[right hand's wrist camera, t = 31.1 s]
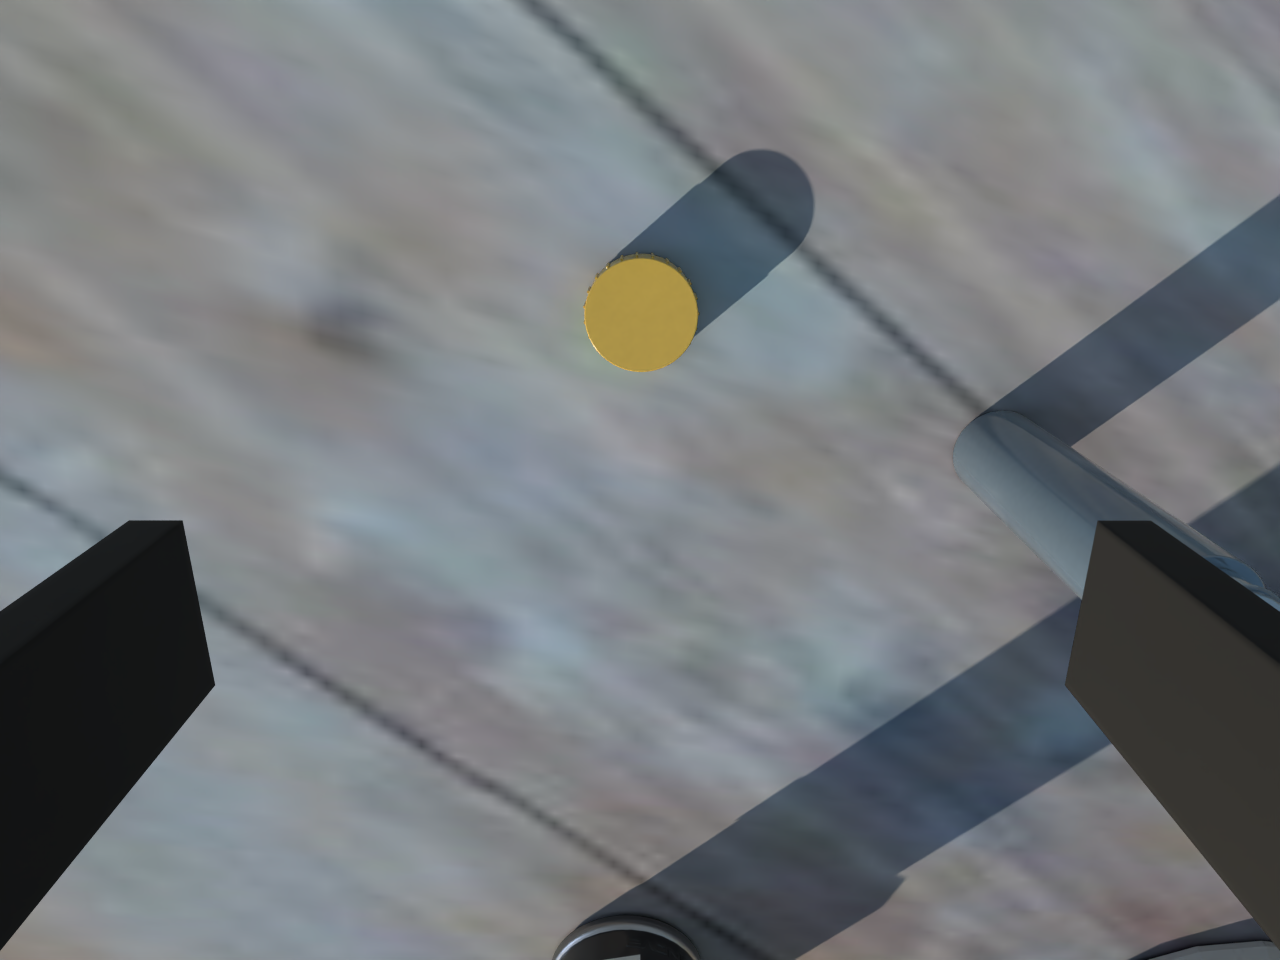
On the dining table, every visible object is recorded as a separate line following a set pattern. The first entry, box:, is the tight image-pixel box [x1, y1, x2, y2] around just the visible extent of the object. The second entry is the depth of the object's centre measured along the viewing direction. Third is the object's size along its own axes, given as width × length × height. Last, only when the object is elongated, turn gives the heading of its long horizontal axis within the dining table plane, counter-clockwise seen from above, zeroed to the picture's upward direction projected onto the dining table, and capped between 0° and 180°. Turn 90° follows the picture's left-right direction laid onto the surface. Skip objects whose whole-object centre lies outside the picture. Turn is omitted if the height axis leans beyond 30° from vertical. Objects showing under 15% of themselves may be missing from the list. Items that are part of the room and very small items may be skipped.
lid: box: [584, 252, 699, 372], centre depth 39 cm, size 5×5×2 cm
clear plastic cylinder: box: [953, 410, 1280, 611], centre depth 34 cm, size 4×4×18 cm
